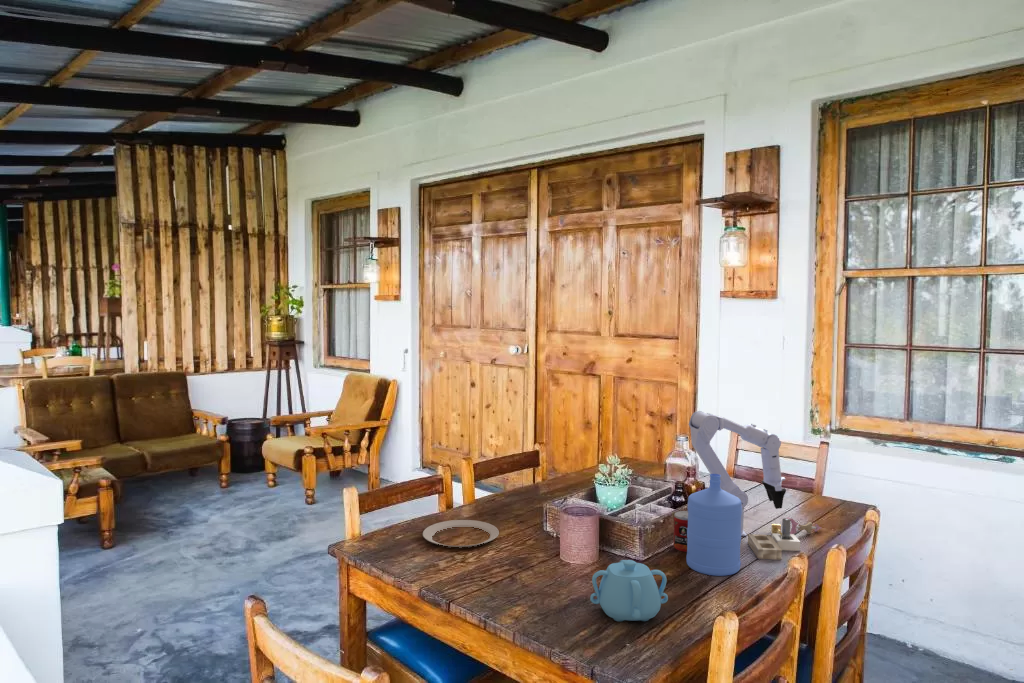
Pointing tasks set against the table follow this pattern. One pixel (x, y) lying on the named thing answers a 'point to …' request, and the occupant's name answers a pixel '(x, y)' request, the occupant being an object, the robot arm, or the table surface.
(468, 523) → the plate
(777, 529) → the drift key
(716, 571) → the water jug
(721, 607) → the table surface
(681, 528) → the canned food
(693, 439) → the robot arm
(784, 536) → the drill bit
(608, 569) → the decorative pot
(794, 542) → the socket block
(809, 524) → the decorative key
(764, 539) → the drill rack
